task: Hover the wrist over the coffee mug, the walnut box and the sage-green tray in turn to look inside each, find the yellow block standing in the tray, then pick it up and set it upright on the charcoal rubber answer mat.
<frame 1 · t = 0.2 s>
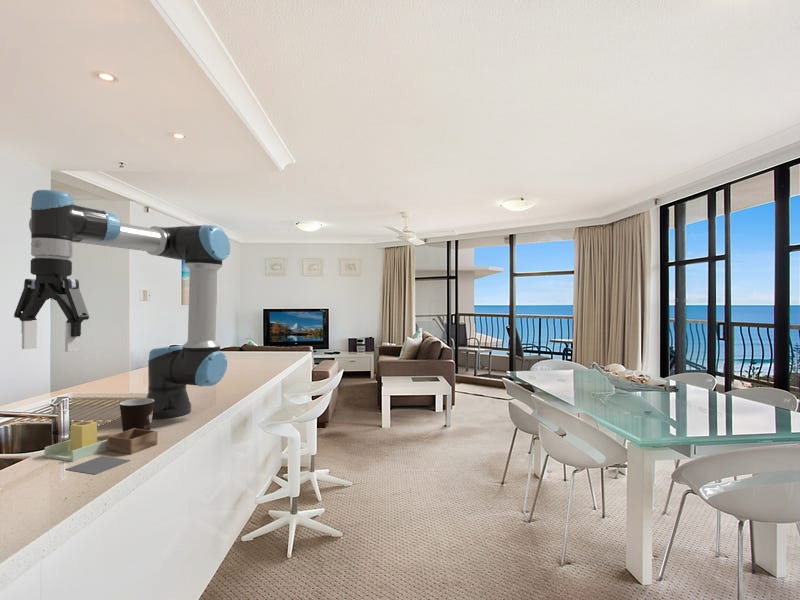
hand: (50, 350, 102), 28 cm above the counter, fingers open, 13 cm apart
yellow block: (83, 450, 112), resting on sage tray
sage tray: (83, 452, 112), on the counter
walnut box: (132, 449, 116), on the counter
coffee mug: (140, 435, 127), on the counter
answer mat: (98, 466, 103), on the counter
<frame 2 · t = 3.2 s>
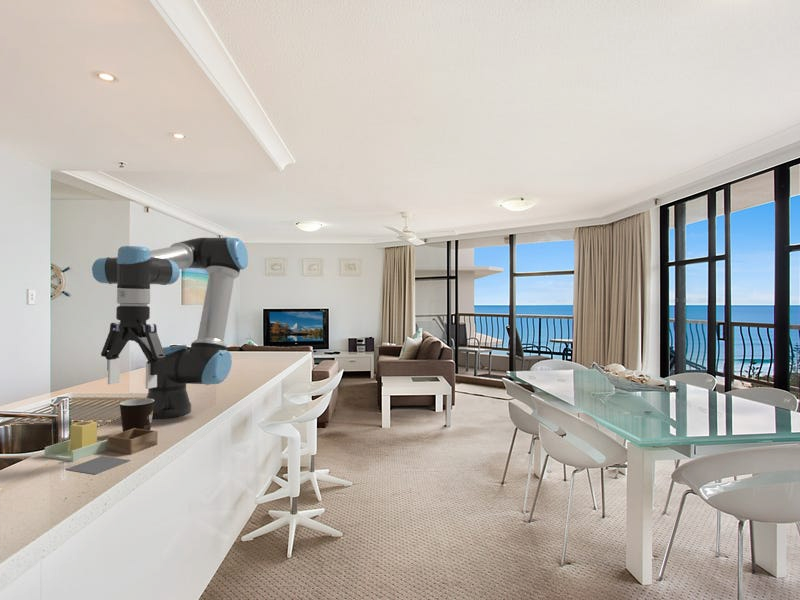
hand: (132, 385, 115), 17 cm above the counter, fingers open, 13 cm apart
nothing on the counter moved.
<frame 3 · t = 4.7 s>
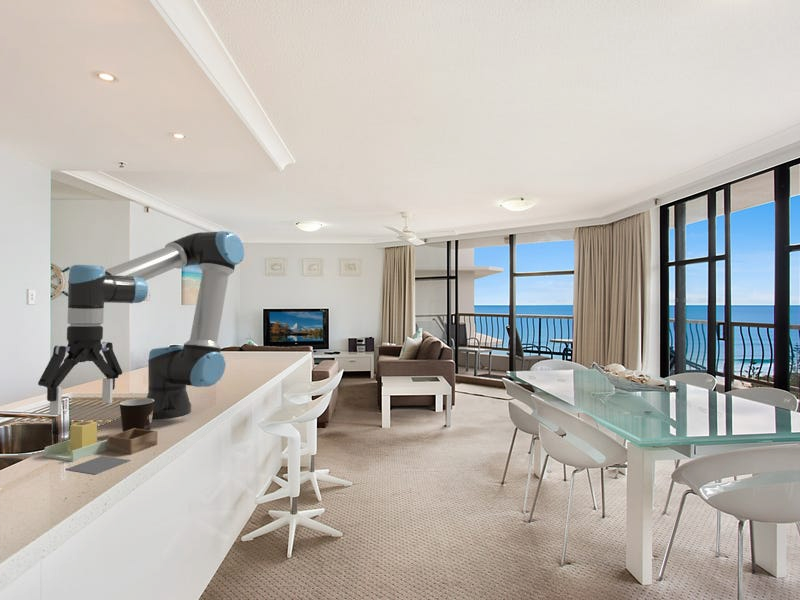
hand: (82, 408, 112), 11 cm above the counter, fingers open, 13 cm apart
nothing on the counter moved.
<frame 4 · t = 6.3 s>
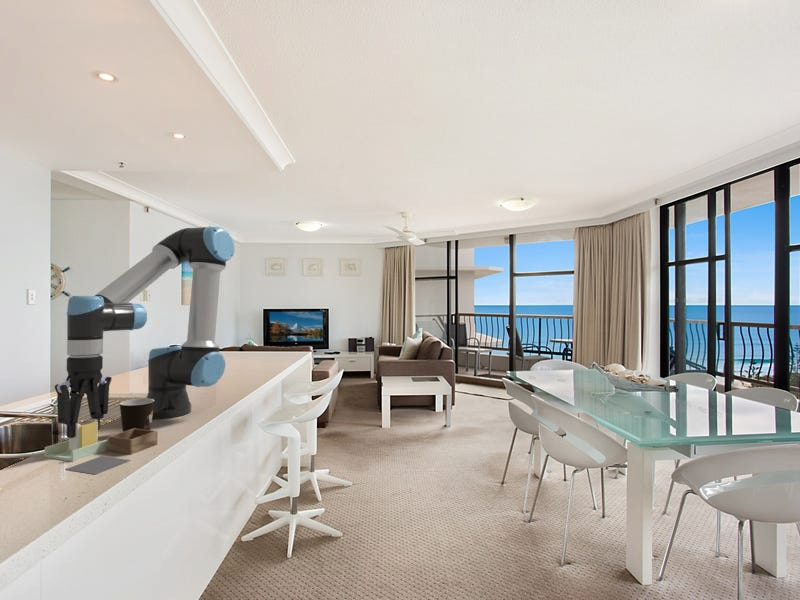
hand: (83, 446, 112), 2 cm above the counter, fingers closed on yellow block, 4 cm apart
yellow block: (83, 450, 112), resting on sage tray, touching gripper
everything else where it was.
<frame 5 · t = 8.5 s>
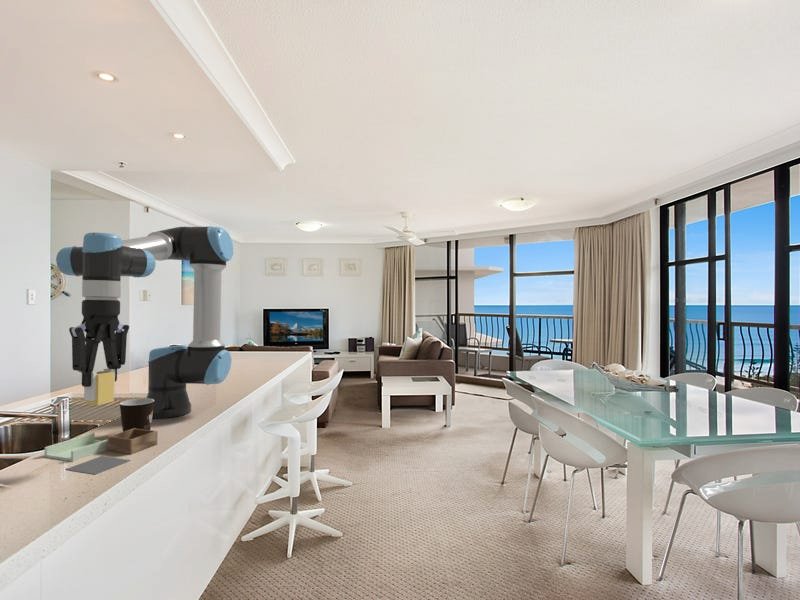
hand: (99, 397, 103), 16 cm above the counter, fingers closed on yellow block, 4 cm apart
yellow block: (99, 402, 103), point 15 cm above the counter, touching gripper
everything else where it was.
when the fingers open (3 cm above the counter, at t = 11.0 s): yellow block drops 1 cm, resting on answer mat.
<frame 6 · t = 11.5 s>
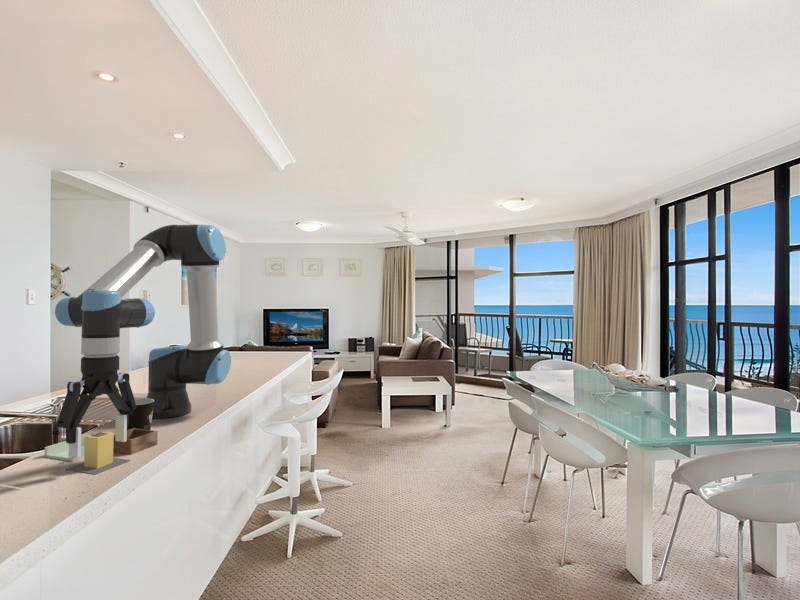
hand: (99, 448, 103), 4 cm above the counter, fingers open, 11 cm apart
yellow block: (98, 464, 103), resting on answer mat
everything else where it was.
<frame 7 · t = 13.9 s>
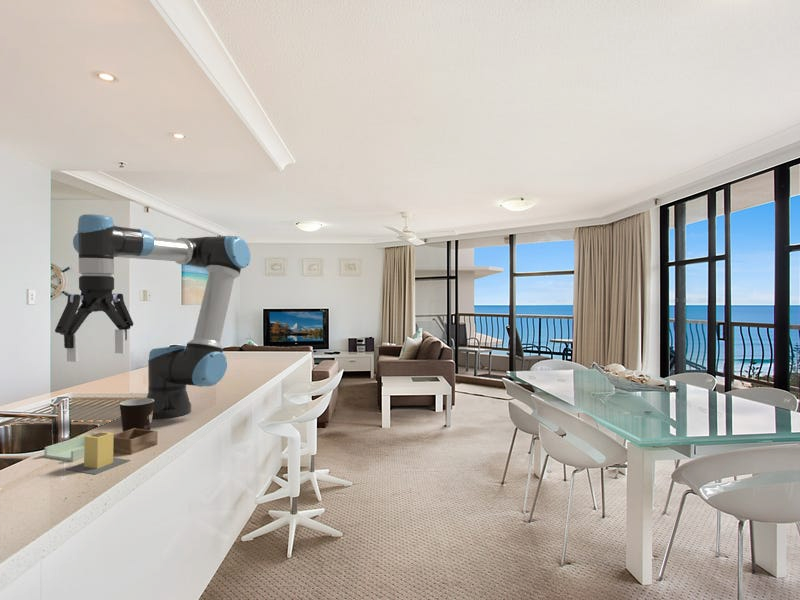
hand: (97, 357, 114), 24 cm above the counter, fingers open, 13 cm apart
nothing on the counter moved.
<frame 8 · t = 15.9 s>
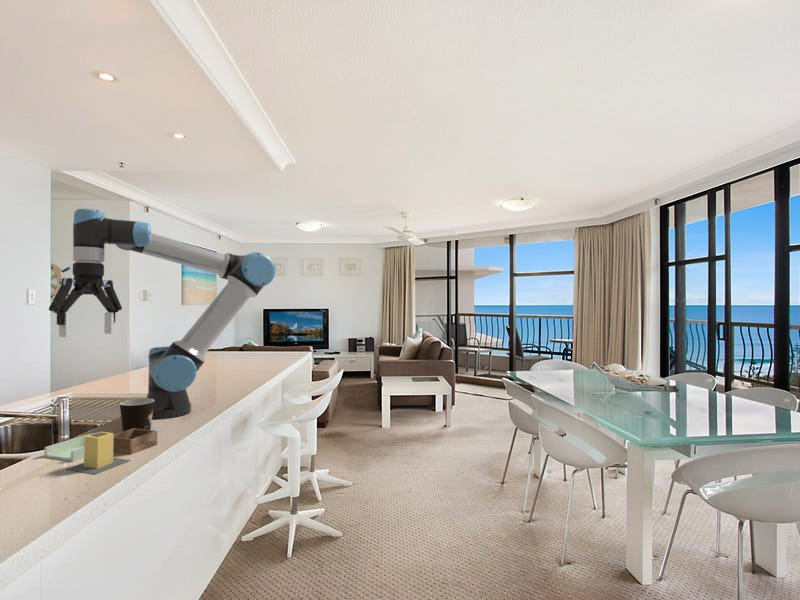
hand: (87, 335, 128), 29 cm above the counter, fingers open, 13 cm apart
nothing on the counter moved.
at the end: yellow block inside the target area on the answer mat (0.0 cm from its centre), point 0.5 cm above the answer mat's base; yellow block tilted 0°; the gripper is holding nothing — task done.
